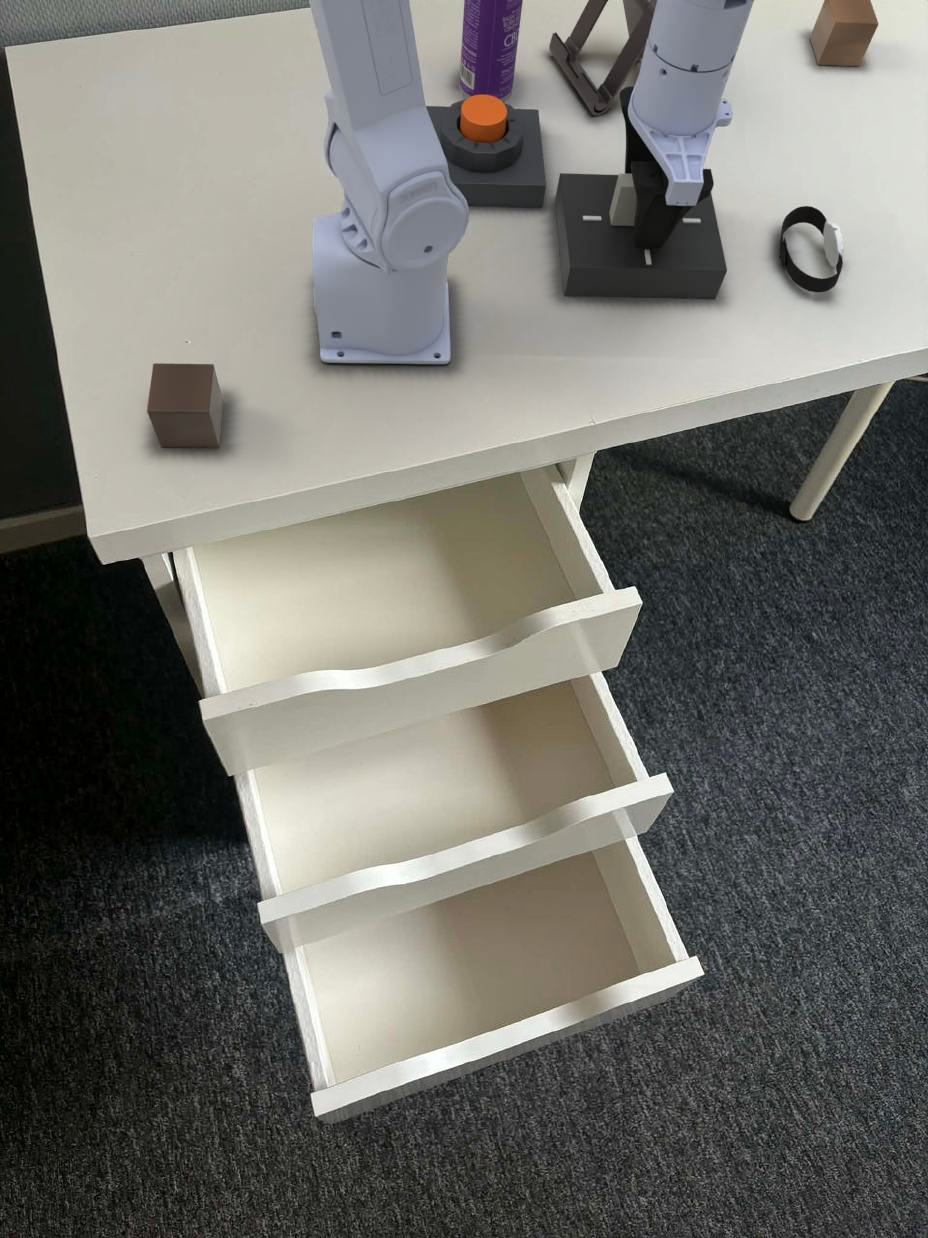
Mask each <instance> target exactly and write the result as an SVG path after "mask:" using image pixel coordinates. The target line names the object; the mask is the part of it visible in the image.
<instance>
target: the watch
mask: <svg viewBox="0 0 928 1238" xmlns="http://www.w3.org/2000/svg"><path fill="white" fill-rule="evenodd" d="M797 224H809V225H812V226H813V227H815V229H816V230H818V231H819V232H820V233H821V235H822V237H823V248H824V252H825V256H826V259H827V261H828V264H829V265H830V266H831V267H835V271H836V273H835V274H834V275H832V276H830V277H825V278H820V277H815V276H812V275H809V274H807V272H804V271H803V270H802V269H800V268H799V267H798V266H797V265H796V263H794V260H793V259H792V256H791V255H790V252H789V249H788V243H787V240H786V237H784V234H785V232H787V230H788V229H789V228H791V227H793V226H795V225H797ZM844 247H845V246H844V238H843V234H842V231H841V228H840V225H839V224H837V222H829V221H828V219H827V218H826V216H825V214H824V213H823V212H822V211H821V210H820V209H818V208H816V207H813V206H811V205H810V206H809V205H803V206H797V207H796V208H794V209H793V210H791V211H790V212H789V213H788V214H787V215H786V216H785V217H784V219H783V222H782V224H781V231H780V238H779V256H778V258H779V259H780V262H781V266H782V268H785V269H786V272H787V274H788V276H789V277H790V280H792V282H794V283H795V284H796V285H797V286H798V287H800V288H801V289H803V290H805V291H808V292H811V293H826V292H828V291H830V290H832V289H833V288H835V286H836V285H837V283H838V281H839V279H840V278H839V277H840V275H841V272H842V269H843V264H844V263H843V259H844V251H845V248H844Z"/></svg>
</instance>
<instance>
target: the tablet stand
mask: <svg viewBox="0 0 928 1238" xmlns="http://www.w3.org/2000/svg"><path fill="white" fill-rule="evenodd" d="M608 2H609V0H588V1H587V3H586V5H585V7H584V8H583V10H582V12H581V14H580V16H579V18H578V20H577V22H576V24H575V26H574V27H573V28H572V29H573V30H572V32H571V33H570V35H569V36H568V37H567V38H566V39H565V42H564V41H563V40H562V38H561V37H560V35H559V34H558V33H557V31H556V32H553V33H552V35H551V38H550V42H549V46H548V48H549V52H550V53H551V55H552V56H553V58H554V60H555V61H556V63H557V64H558V65H559V67H560V69H561V70H562V72H563V73H564V74H565V76H566V77H567V79H568V80H569V81H570V83H571V85H572V86H573V88H574V89H575V90H576V92H577V94H578V95H579V96H580V98H581V99H582V101H583V103H585V105H586V107H587V109H588V110H589V111H590V113H591V114H592V115H593V116H595V117H599V116H601V115H603V114H605V113H606V112H607V111H608V110H609V109H610V107H611V106H612V103H614V100H615V99H616V97H617V96H618V94H619V93H620V91H621V90H622V89H621V88H623V85H624V83H625V82H626V81H627V78H628V76H629V75H630V73H631V71H632V70H633V68H634V66H635V65H636V63H638V64H639V63H642V59H643V54H644V50H645V46H646V42H647V39H648V36H649V32H650V28H651V24H652V20H653V16H654V11H655V7H656V3H657V0H622V4H623V10H624V16H625V17H624V18H625V23H626V27H627V34H628V39H627V41H626V42H625V44H624V46H623V48H622V49H621V51H620V53H619V54H618V56H617V58H616V60H615V62H614V64H613V65H612V66H611V68H610V70H609V72H608V74H607V75H606V77H605V79H604V80H603V82H602V83H601V84H600V85H599V87H598V88H597V87H596V85H595V84H594V82H593V81H592V79H591V78H590V77H589V75H588V73H587V72H586V70H585V69H584V67H583V66H582V65H581V63H580V62H579V60H578V57H579V55H580V53H581V52H582V49H583V48H584V45H585V44H586V42H587V40H588V38H589V36H590V35H591V33H592V31H593V29H594V27H595V26H596V23H597V22H598V21H599V18H600V16H601V14H602V12H603V11H604V9H605V7H606V5H607V4H608Z"/></svg>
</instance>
